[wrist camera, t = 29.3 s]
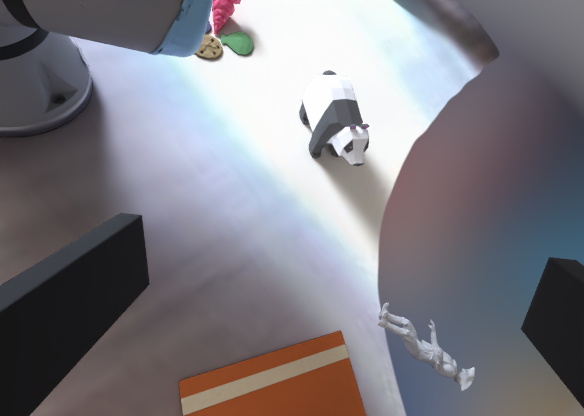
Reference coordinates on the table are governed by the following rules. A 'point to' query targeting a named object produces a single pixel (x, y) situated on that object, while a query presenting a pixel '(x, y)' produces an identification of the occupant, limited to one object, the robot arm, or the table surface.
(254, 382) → the cloth
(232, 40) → the toy pieces
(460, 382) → the soldier figure
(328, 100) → the giant panda
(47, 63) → the robot arm
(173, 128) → the table surface
